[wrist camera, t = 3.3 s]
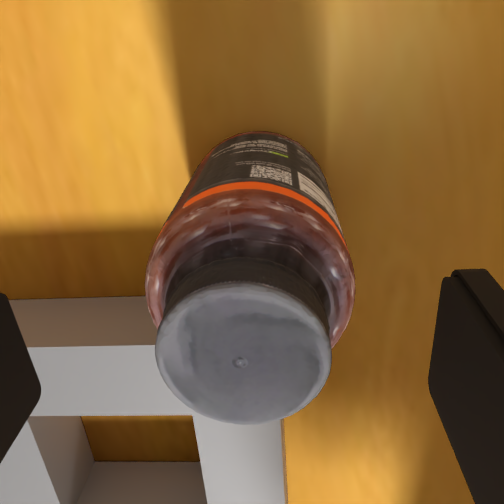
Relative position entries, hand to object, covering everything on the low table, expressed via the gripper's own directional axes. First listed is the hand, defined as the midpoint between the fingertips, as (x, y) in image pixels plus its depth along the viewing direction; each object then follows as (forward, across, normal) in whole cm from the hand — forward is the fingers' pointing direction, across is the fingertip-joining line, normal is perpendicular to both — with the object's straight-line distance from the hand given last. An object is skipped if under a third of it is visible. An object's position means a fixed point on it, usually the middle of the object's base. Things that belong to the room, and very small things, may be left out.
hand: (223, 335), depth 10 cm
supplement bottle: (+11, 0, +1) cm, 11 cm away
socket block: (+11, +7, +14) cm, 19 cm away
